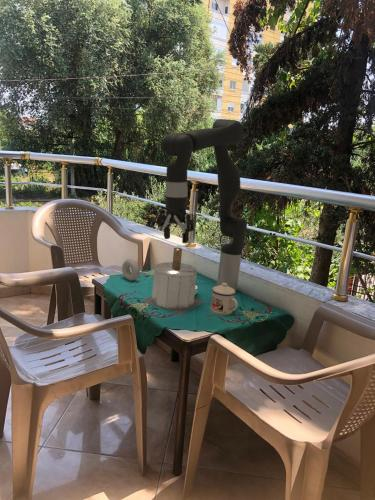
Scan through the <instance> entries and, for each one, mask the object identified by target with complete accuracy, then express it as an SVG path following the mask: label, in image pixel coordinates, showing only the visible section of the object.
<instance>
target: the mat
mask: <svg viewBox="0 0 375 500" xmlns="http://www.w3.org/2000/svg"><path fill="white" fill-rule="evenodd" d="M140 302H142V303H146V304H148V305H152V306H154V307H158V308H160V309H162V310H165V311H169V312H171V313H175V314H177V315H183V314H185V313H186V312H189V311H190V310H193V309H194V308H196V307H198V306H200V305H203V304H204V303H205V301H202V300H200V299H196V298H194V305H193V306H192V307H190V308H188V309H180V310H174V309H165V308H163V307H160V306H157V305H155V304H154V303H153V302H152V295H150V296H148V297H146V298H144V299H141V300H140Z"/></svg>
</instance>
